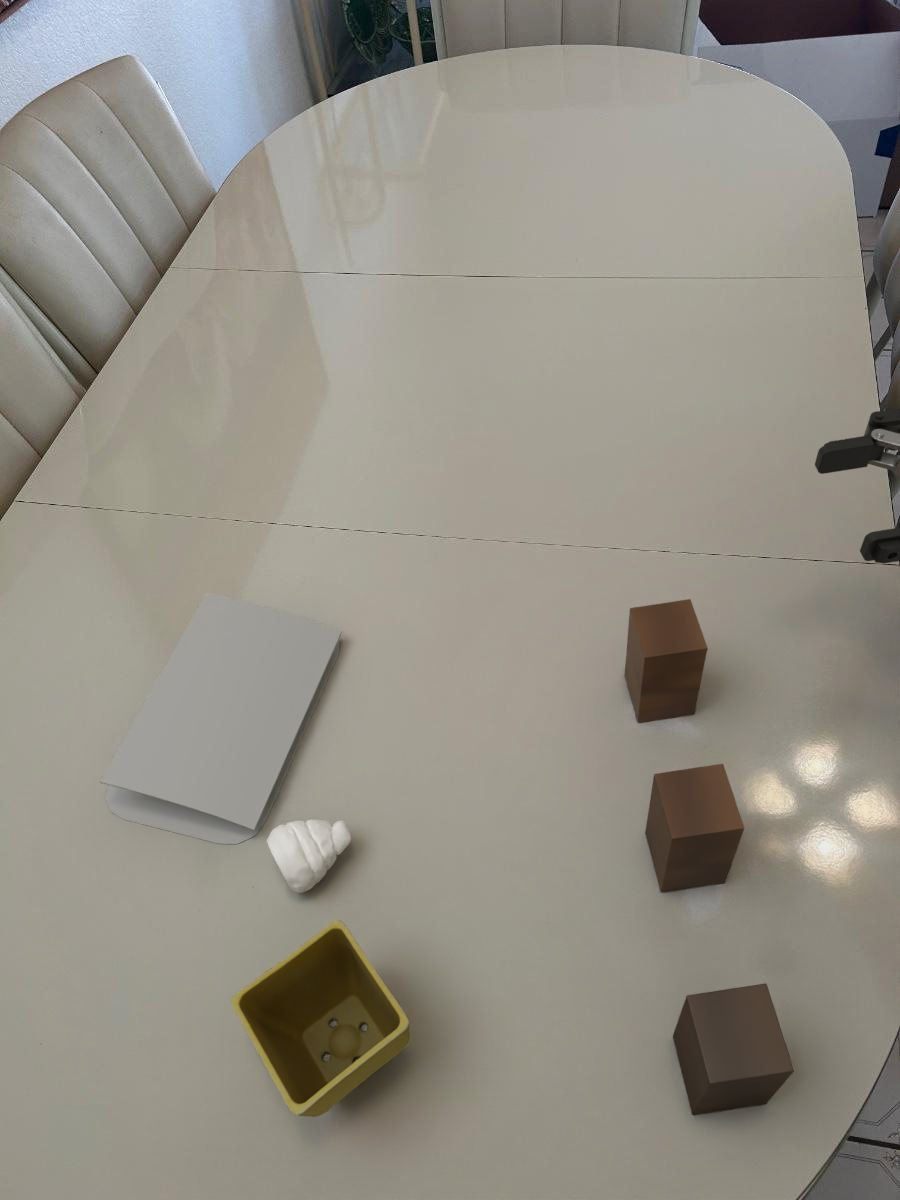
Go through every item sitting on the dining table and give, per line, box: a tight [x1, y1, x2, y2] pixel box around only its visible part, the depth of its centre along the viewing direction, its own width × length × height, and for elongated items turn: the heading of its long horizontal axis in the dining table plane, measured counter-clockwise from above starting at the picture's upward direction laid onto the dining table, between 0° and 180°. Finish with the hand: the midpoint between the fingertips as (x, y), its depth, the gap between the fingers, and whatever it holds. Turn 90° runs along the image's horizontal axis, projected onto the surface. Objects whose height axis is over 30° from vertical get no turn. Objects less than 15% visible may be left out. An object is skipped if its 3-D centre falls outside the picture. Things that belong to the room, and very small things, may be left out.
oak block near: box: [672, 983, 795, 1116], centre depth 60 cm, size 5×5×10 cm
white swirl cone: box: [266, 818, 352, 894], centre depth 74 cm, size 6×6×5 cm
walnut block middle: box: [644, 763, 745, 894], centre depth 69 cm, size 5×5×10 cm
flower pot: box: [230, 919, 411, 1118], centre depth 63 cm, size 9×9×9 cm
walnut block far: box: [624, 598, 708, 724], centre depth 78 cm, size 5×5×10 cm
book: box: [99, 592, 343, 845], centre depth 84 cm, size 15×23×4 cm, turn 163°
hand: (840, 502), depth 65 cm, fingers open, 8 cm apart
